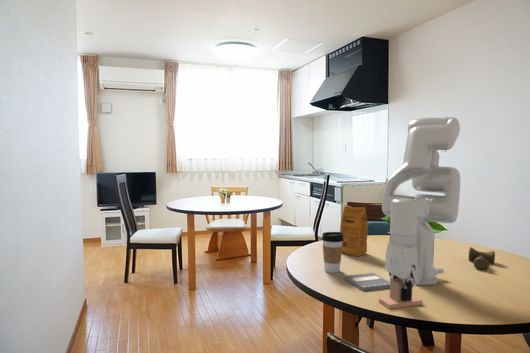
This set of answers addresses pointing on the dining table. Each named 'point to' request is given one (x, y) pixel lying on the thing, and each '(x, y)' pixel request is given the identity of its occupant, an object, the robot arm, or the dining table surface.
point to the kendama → (481, 258)
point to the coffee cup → (332, 251)
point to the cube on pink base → (398, 296)
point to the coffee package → (354, 231)
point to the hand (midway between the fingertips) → (400, 296)
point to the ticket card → (368, 281)
